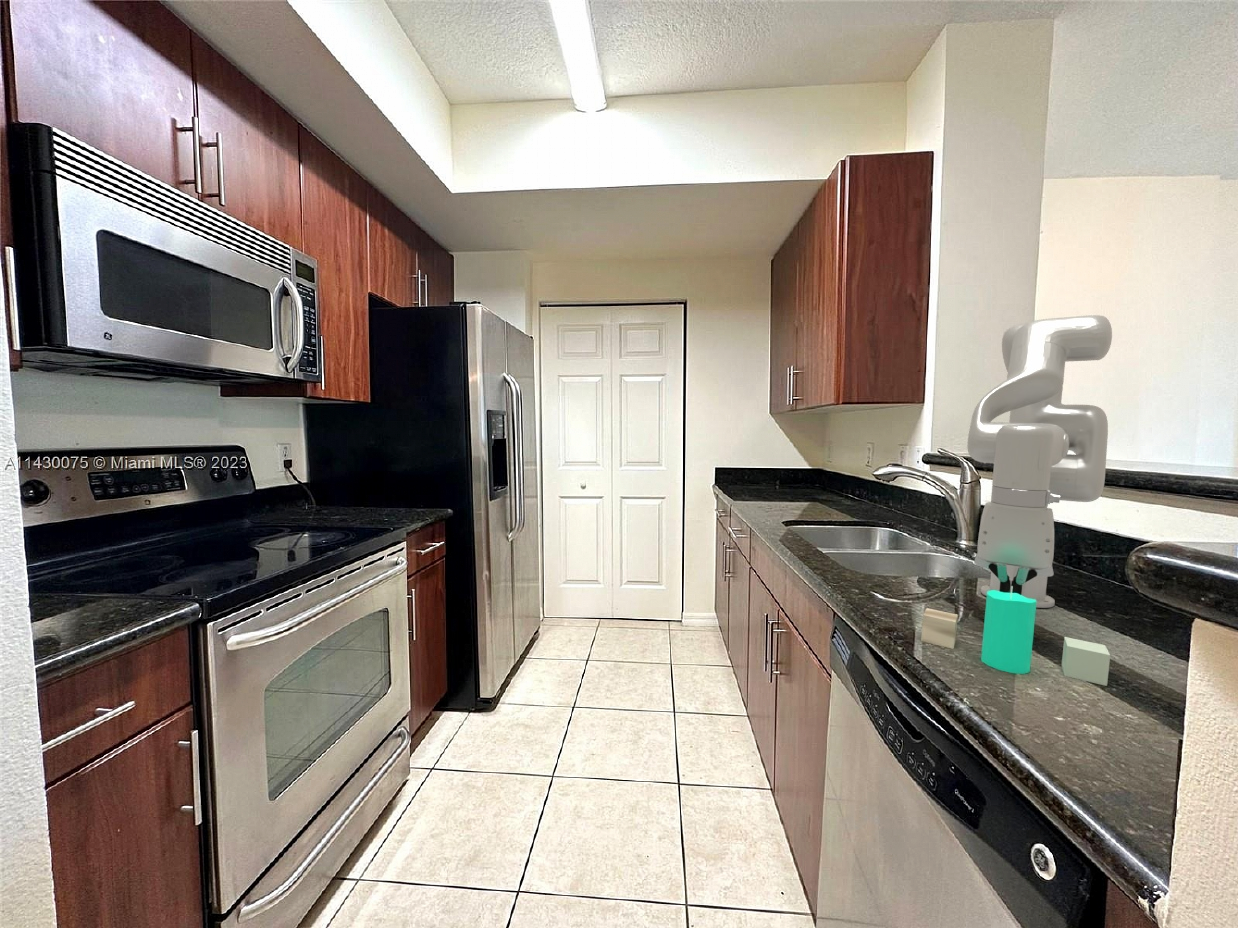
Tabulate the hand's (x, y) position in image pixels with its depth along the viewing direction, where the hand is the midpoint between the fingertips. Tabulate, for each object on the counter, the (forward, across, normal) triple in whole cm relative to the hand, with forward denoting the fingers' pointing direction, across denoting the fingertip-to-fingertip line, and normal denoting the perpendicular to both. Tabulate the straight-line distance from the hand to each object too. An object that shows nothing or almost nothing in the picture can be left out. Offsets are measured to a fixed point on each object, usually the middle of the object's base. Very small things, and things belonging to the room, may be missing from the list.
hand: (1009, 603), depth 88 cm
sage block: (+5, -9, +11) cm, 15 cm away
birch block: (+5, +9, +11) cm, 15 cm away
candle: (+5, 0, +15) cm, 16 cm away
